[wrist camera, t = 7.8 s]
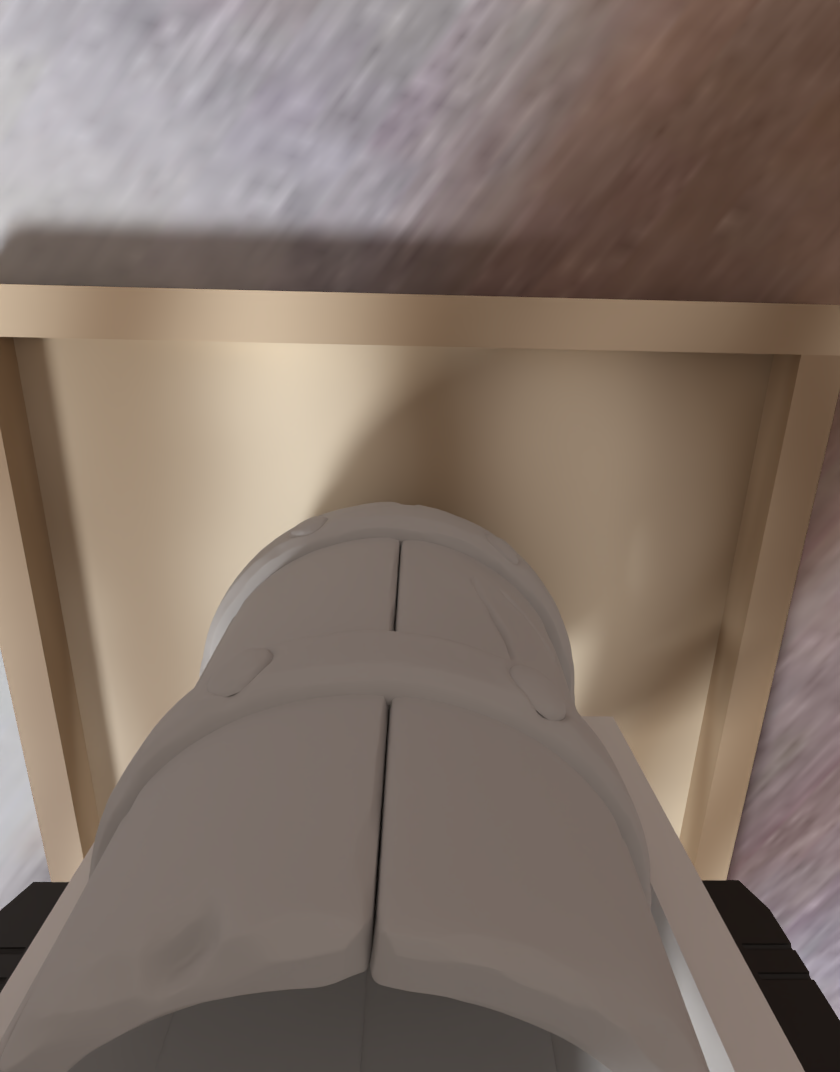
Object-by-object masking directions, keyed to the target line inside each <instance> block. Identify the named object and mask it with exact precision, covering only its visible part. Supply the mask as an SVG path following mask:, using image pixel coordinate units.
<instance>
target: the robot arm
mask: <svg viewBox="0 0 840 1072" xmlns="http://www.w3.org/2000/svg"><path fill="white" fill-rule="evenodd" d="M581 717H582V718H583V719H584V720H585V721H586V723H587V724H588V725H589V726H590V728H591V729H592V730H593V731H594V732H595V734H596V735H597V736H598V738H599V739H600V740H601V742H602V743H603V745H604V746H605V748H606V750H607V751H608V753H609V755H610V756H611V758H612V760H613V762H614V764H615V766H616V767H617V769H618V772H619V774H620V776H621V778H622V780H623V782H624V784H625V786H626V788H627V791H628V793H629V795H630V797H631V799H632V801H633V804H634V806H635V808H636V811H637V814H638V816H639V819H640V822H641V825H642V828H643V831H644V835H645V839H646V843H647V848H648V854H649V861H650V888H651V909H650V910H651V913H652V916H653V918H654V921H655V924H656V926H657V929H658V932H659V935H660V937H661V940H662V943H663V946H664V948H665V951H666V954H667V956H668V959H669V962H670V965H671V967H672V970H673V973H674V976H675V978H676V981H677V984H678V986H679V989H680V992H681V995H682V997H683V1000H684V1003H685V1006H686V1008H687V1011H688V1014H689V1016H690V1019H691V1022H692V1025H693V1027H694V1030H695V1033H696V1036H697V1038H698V1041H699V1044H700V1046H701V1049H702V1052H703V1055H704V1057H705V1060H706V1063H707V1066H708V1068H709V1071H710V1072H840V1020H839V1019H838V1017H837V1015H836V1014H835V1012H834V1011H833V1009H832V1008H831V1006H830V1004H829V1003H828V1001H827V1000H826V998H825V997H824V995H823V993H822V992H821V990H820V989H819V987H818V985H817V984H816V982H815V981H814V980H811V978H810V976H809V971H808V970H807V968H806V966H805V965H804V963H803V962H802V960H801V959H800V957H799V955H798V954H797V952H796V951H795V950H792V948H791V943H790V941H789V940H788V938H787V936H786V935H785V933H784V932H783V930H782V928H781V927H780V925H779V924H778V922H777V921H776V919H775V917H774V916H773V914H772V913H771V911H770V910H769V908H768V907H766V906H765V905H764V904H763V903H762V902H761V901H760V900H759V899H758V898H757V897H756V896H755V895H754V894H753V893H751V892H750V891H749V890H748V889H747V888H746V887H745V886H744V885H743V884H742V883H741V882H740V881H739V880H701V879H700V877H699V875H698V873H697V871H696V869H695V867H694V866H693V864H692V862H691V860H690V858H689V856H688V855H687V853H686V851H685V849H684V847H683V845H682V843H681V842H680V840H679V838H678V836H677V834H676V832H675V830H674V829H673V827H672V825H671V823H670V821H669V819H668V818H667V816H666V814H665V812H664V810H663V808H662V806H661V805H660V803H659V801H658V799H657V797H656V795H655V793H654V792H653V790H652V788H651V786H650V784H649V782H648V781H647V779H646V777H645V775H644V773H643V771H642V769H641V768H640V766H639V764H638V762H637V760H636V758H635V756H634V755H633V753H632V751H631V749H630V747H629V745H628V744H627V742H626V740H625V738H624V736H623V734H622V732H621V731H620V729H619V727H618V725H617V723H616V721H615V720H614V718H613V717H607V716H581ZM93 847H94V843H93V845H92V846H91V848H90V850H89V851H88V853H87V854H86V856H85V858H84V859H83V861H82V862H81V864H80V866H79V867H78V869H77V870H76V872H75V874H74V875H73V877H72V879H71V880H70V882H33V883H32V884H31V885H30V886H28V887H27V888H26V889H25V890H24V891H23V892H21V893H20V894H19V895H18V896H17V897H16V898H14V899H13V900H12V901H11V902H10V903H9V904H8V905H6V906H5V907H4V908H3V909H2V910H1V911H0V1040H1V1038H2V1037H3V1035H4V1033H5V1031H6V1029H7V1028H8V1026H9V1024H10V1022H11V1020H12V1019H13V1017H14V1015H15V1013H16V1011H17V1010H18V1008H19V1006H20V1004H21V1002H22V1001H23V999H24V997H25V995H26V993H27V992H28V990H29V988H30V986H31V984H32V983H33V981H34V979H35V977H36V975H37V974H38V972H39V970H40V968H41V966H42V965H43V963H44V961H45V959H46V957H47V956H48V954H49V952H50V950H51V949H52V947H53V945H54V943H55V941H56V940H57V938H58V936H59V934H60V932H61V930H62V929H63V927H64V925H65V923H66V921H67V919H68V918H69V916H70V914H71V912H72V910H73V909H74V907H75V905H76V903H77V901H78V899H79V898H80V896H81V894H82V892H83V890H84V888H85V886H86V885H87V883H88V881H89V873H90V865H91V858H92V853H93Z"/></svg>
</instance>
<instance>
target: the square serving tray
mask: <svg viewBox="0 0 840 1072" xmlns="http://www.w3.org/2000/svg"><path fill="white" fill-rule="evenodd" d="M839 391H840V305H825V304H785V303H745V302H704V301H664V300H624V299H583V298H543V297H503V296H463V295H422V294H382V293H342V292H301V291H261V290H221V289H181V288H140V287H100V286H60V285H19V284H0V648H1V652H2V657H3V662H4V666H5V671H6V675H7V680H8V685H9V689H10V694H11V698H12V703H13V708H14V712H15V717H16V721H17V726H18V731H19V735H20V740H21V744H22V749H23V754H24V758H25V763H26V767H27V772H28V777H29V781H30V786H31V790H32V795H33V800H34V804H35V809H36V813H37V818H38V823H39V827H40V832H41V836H42V841H43V846H44V850H45V855H46V859H47V864H48V869H49V873H50V878H51V882H70V880H71V879H72V877H73V875H74V874H75V872H76V870H77V869H78V867H79V866H80V864H81V862H82V861H83V859H84V858H85V856H86V854H87V853H88V851H89V850H90V848H91V846H92V845H93V843H94V842H95V837H96V833H97V830H98V826H99V823H100V820H101V817H102V815H103V812H104V809H105V807H106V804H107V801H108V799H109V797H110V795H111V793H112V791H113V789H114V788H115V786H116V785H117V783H118V781H119V780H120V778H121V776H122V774H123V773H124V771H125V769H126V768H127V766H128V765H129V763H130V762H131V760H132V759H133V757H134V756H135V754H136V753H137V751H138V750H139V748H140V747H141V745H142V744H143V742H144V741H145V739H146V738H147V737H148V735H149V734H150V732H151V731H152V730H153V728H154V727H155V726H156V725H157V724H158V722H159V721H160V720H161V719H162V718H163V717H164V716H165V714H166V713H167V712H168V711H169V710H170V709H171V708H172V707H173V706H174V705H175V704H176V703H177V702H178V701H179V700H180V699H182V698H183V697H184V696H185V695H186V694H187V693H188V692H190V691H191V690H192V689H194V687H195V685H196V684H197V682H198V680H199V673H200V667H201V662H202V659H203V653H204V648H205V643H206V638H207V635H208V631H209V628H210V625H211V622H212V620H213V617H214V615H215V613H216V611H217V609H218V607H219V605H220V603H221V601H222V599H223V598H224V596H225V594H226V592H227V591H228V589H229V587H230V586H231V585H232V583H233V582H234V580H235V579H236V578H237V576H238V575H239V574H240V573H241V571H242V570H243V569H244V568H245V567H246V565H247V564H248V563H249V562H250V561H251V560H252V559H253V558H254V557H255V556H256V555H257V554H258V553H259V552H260V551H261V550H262V549H263V548H265V547H266V546H267V545H268V544H270V543H271V542H272V541H273V540H275V539H276V538H278V537H279V536H280V535H282V534H283V533H285V532H287V531H288V530H290V529H292V528H293V527H295V526H296V525H298V524H299V523H301V522H303V521H305V520H307V519H309V518H311V517H314V516H319V515H322V514H325V513H328V512H331V511H335V510H338V509H343V508H347V507H352V506H357V505H361V504H367V503H375V502H396V503H400V504H403V505H422V506H427V507H431V508H435V509H439V510H442V511H446V512H448V513H451V514H453V515H456V516H458V517H461V518H463V519H466V520H468V521H470V522H473V523H475V524H477V525H479V526H481V527H482V528H484V529H486V530H488V531H489V532H491V533H492V534H494V535H495V536H497V537H499V538H501V539H503V540H504V541H506V542H507V543H508V544H509V545H510V546H511V547H512V548H513V549H514V550H515V551H516V552H517V553H518V554H519V555H520V556H521V557H522V558H523V559H524V560H525V561H526V562H527V563H528V564H529V565H530V566H531V568H532V569H533V570H534V571H535V572H536V574H537V575H538V576H539V578H540V579H541V581H542V582H543V583H544V585H545V586H546V588H547V590H548V591H549V593H550V595H551V596H552V598H553V599H554V601H555V603H556V605H557V607H558V609H559V612H560V614H561V617H562V620H563V622H564V625H565V628H566V631H567V634H568V637H569V641H570V645H571V651H572V659H573V664H574V695H575V706H576V709H577V712H578V713H579V714H580V715H581V716H607V717H613V718H614V720H615V721H616V723H617V725H618V727H619V729H620V731H621V732H622V734H623V736H624V738H625V740H626V742H627V744H628V745H629V747H630V749H631V751H632V753H633V755H634V756H635V758H636V760H637V762H638V764H639V766H640V768H641V769H642V771H643V773H644V775H645V777H646V779H647V781H648V782H649V784H650V786H651V788H652V790H653V792H654V793H655V795H656V797H657V799H658V801H659V803H660V805H661V806H662V808H663V810H664V812H665V814H666V816H667V818H668V819H669V821H670V823H671V825H672V827H673V829H674V830H675V832H676V834H677V836H678V838H679V840H680V842H681V843H682V845H683V847H684V849H685V851H686V853H687V855H688V856H689V858H690V860H691V862H692V864H693V866H694V867H695V869H696V871H697V873H698V875H699V877H700V879H701V880H726V879H727V874H728V870H729V866H730V861H731V857H732V853H733V849H734V844H735V840H736V836H737V831H738V827H739V823H740V818H741V814H742V810H743V805H744V801H745V797H746V792H747V788H748V784H749V779H750V775H751V771H752V767H753V762H754V758H755V754H756V749H757V745H758V741H759V736H760V732H761V728H762V723H763V719H764V715H765V710H766V706H767V702H768V698H769V693H770V689H771V685H772V680H773V676H774V672H775V667H776V663H777V659H778V654H779V650H780V646H781V641H782V637H783V633H784V628H785V624H786V620H787V616H788V611H789V607H790V603H791V598H792V594H793V590H794V585H795V581H796V577H797V572H798V568H799V564H800V559H801V555H802V551H803V547H804V542H805V538H806V534H807V529H808V525H809V521H810V516H811V512H812V508H813V503H814V499H815V495H816V490H817V486H818V482H819V477H820V473H821V469H822V465H823V460H824V456H825V452H826V447H827V443H828V439H829V434H830V430H831V426H832V421H833V417H834V413H835V408H836V404H837V400H838V396H839Z"/></svg>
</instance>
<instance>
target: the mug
mask: <svg viewBox="0 0 840 1072" xmlns="http://www.w3.org/2000/svg"><path fill="white" fill-rule="evenodd" d="M650 909H651V888H650V861H649V854H648V848H647V843H646V839H645V835H644V831H643V828H642V825H641V822H640V819H639V816H638V814H637V811H636V808H635V806H634V804H633V801H632V799H631V797H630V795H629V793H628V791H627V788H626V786H625V784H624V782H623V780H622V778H621V776H620V774H619V772H618V769H617V767H616V766H615V764H614V762H613V760H612V758H611V756H610V755H609V753H608V751H607V750H606V748H605V746H604V745H603V743H602V742H601V740H600V739H599V738H598V736H597V735H596V734H595V732H594V731H593V730H592V729H591V728H590V726H589V725H588V724H587V723H586V721H585V720H584V719H583V718H582V717H581V715H580V714H579V713H578V712H577V709H576V706H575V695H574V664H573V659H572V651H571V645H570V641H569V637H568V634H567V631H566V628H565V625H564V622H563V620H562V617H561V614H560V612H559V609H558V607H557V605H556V603H555V601H554V599H553V598H552V596H551V595H550V593H549V591H548V590H547V588H546V586H545V585H544V583H543V582H542V581H541V579H540V578H539V576H538V575H537V574H536V572H535V571H534V570H533V569H532V568H531V566H530V565H529V564H528V563H527V562H526V561H525V560H524V559H523V558H522V557H521V556H520V555H519V554H518V553H517V552H516V551H515V550H514V549H513V548H512V547H511V546H510V545H509V544H508V543H507V542H506V541H504V540H503V539H501V538H499V537H497V536H495V535H494V534H492V533H491V532H489V531H488V530H486V529H484V528H482V527H481V526H479V525H477V524H475V523H473V522H470V521H468V520H466V519H463V518H461V517H458V516H456V515H453V514H451V513H448V512H446V511H442V510H439V509H435V508H431V507H427V506H422V505H403V504H400V503H396V502H375V503H367V504H361V505H357V506H352V507H347V508H343V509H338V510H335V511H331V512H328V513H325V514H322V515H319V516H314V517H311V518H309V519H307V520H305V521H303V522H301V523H299V524H298V525H296V526H295V527H293V528H292V529H290V530H288V531H287V532H285V533H283V534H282V535H280V536H279V537H278V538H276V539H275V540H273V541H272V542H271V543H270V544H268V545H267V546H266V547H265V548H263V549H262V550H261V551H260V552H259V553H258V554H257V555H256V556H255V557H254V558H253V559H252V560H251V561H250V562H249V563H248V564H247V565H246V567H245V568H244V569H243V570H242V571H241V573H240V574H239V575H238V576H237V578H236V579H235V580H234V582H233V583H232V585H231V586H230V587H229V589H228V591H227V592H226V594H225V596H224V598H223V599H222V601H221V603H220V605H219V607H218V609H217V611H216V613H215V615H214V617H213V620H212V622H211V625H210V628H209V631H208V635H207V638H206V643H205V648H204V653H203V659H202V662H201V667H200V673H199V680H198V682H197V684H196V685H195V687H194V689H192V690H191V691H190V692H188V693H187V694H186V695H185V696H184V697H183V698H182V699H180V700H179V701H178V702H177V703H176V704H175V705H174V706H173V707H172V708H171V709H170V710H169V711H168V712H167V713H166V714H165V716H164V717H163V718H162V719H161V720H160V721H159V722H158V724H157V725H156V726H155V727H154V728H153V730H152V731H151V732H150V734H149V735H148V737H147V738H146V739H145V741H144V742H143V744H142V745H141V747H140V748H139V750H138V751H137V753H136V754H135V756H134V757H133V759H132V760H131V762H130V763H129V765H128V766H127V768H126V769H125V771H124V773H123V774H122V776H121V778H120V780H119V781H118V783H117V785H116V786H115V788H114V789H113V791H112V793H111V795H110V797H109V799H108V801H107V804H106V807H105V809H104V812H103V815H102V817H101V820H100V823H99V826H98V830H97V833H96V837H95V842H94V847H93V853H92V858H91V865H90V873H89V881H88V883H87V885H86V886H85V888H84V890H83V892H82V894H81V896H80V898H79V899H78V901H77V903H76V905H75V907H74V909H73V910H72V912H71V914H70V916H69V918H68V919H67V921H66V923H65V925H64V927H63V929H62V930H61V932H60V934H59V936H58V938H57V940H56V941H55V943H54V945H53V947H52V949H51V950H50V952H49V954H48V956H47V957H46V959H45V961H44V963H43V965H42V966H41V968H40V970H39V972H38V974H37V975H36V977H35V979H34V981H33V983H32V984H31V986H30V988H29V990H28V992H27V993H26V995H25V997H24V999H23V1001H22V1002H21V1004H20V1006H19V1008H18V1010H17V1011H16V1013H15V1015H14V1017H13V1019H12V1020H11V1022H10V1024H9V1026H8V1028H7V1029H6V1031H5V1033H4V1035H3V1037H2V1038H1V1040H0V1072H710V1071H709V1068H708V1066H707V1063H706V1060H705V1057H704V1055H703V1052H702V1049H701V1046H700V1044H699V1041H698V1038H697V1036H696V1033H695V1030H694V1027H693V1025H692V1022H691V1019H690V1016H689V1014H688V1011H687V1008H686V1006H685V1003H684V1000H683V997H682V995H681V992H680V989H679V986H678V984H677V981H676V978H675V976H674V973H673V970H672V967H671V965H670V962H669V959H668V956H667V954H666V951H665V948H664V946H663V943H662V940H661V937H660V935H659V932H658V929H657V926H656V924H655V921H654V918H653V916H652V913H651V910H650Z"/></svg>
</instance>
